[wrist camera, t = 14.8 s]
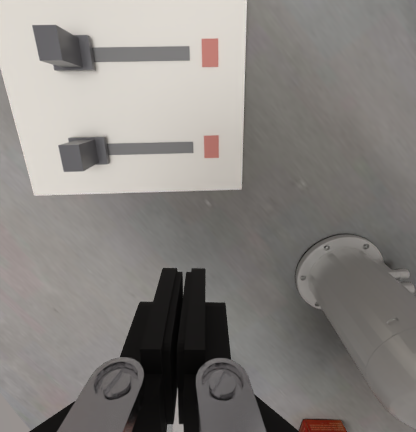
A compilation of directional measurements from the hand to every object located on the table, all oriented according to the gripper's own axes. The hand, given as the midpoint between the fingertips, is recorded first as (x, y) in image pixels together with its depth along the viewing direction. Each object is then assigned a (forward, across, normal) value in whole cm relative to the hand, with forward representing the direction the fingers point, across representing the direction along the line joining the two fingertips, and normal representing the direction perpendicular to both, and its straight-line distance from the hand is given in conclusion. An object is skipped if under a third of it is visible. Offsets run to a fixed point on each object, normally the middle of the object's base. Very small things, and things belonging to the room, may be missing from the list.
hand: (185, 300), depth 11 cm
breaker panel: (+25, +8, -12) cm, 29 cm away
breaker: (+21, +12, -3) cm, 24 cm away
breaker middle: (+21, +12, -12) cm, 27 cm away
